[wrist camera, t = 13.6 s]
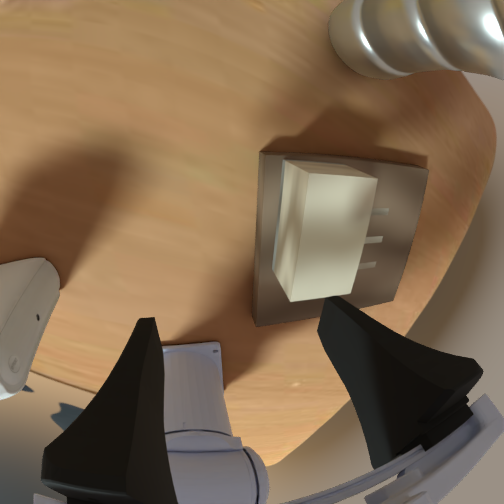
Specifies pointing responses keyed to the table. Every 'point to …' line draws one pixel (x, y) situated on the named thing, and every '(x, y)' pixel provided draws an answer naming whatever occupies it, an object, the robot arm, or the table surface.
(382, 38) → the plastic bottle
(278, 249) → the block
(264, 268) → the grey flat square block
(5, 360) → the photo printer
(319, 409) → the table surface
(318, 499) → the robot arm
